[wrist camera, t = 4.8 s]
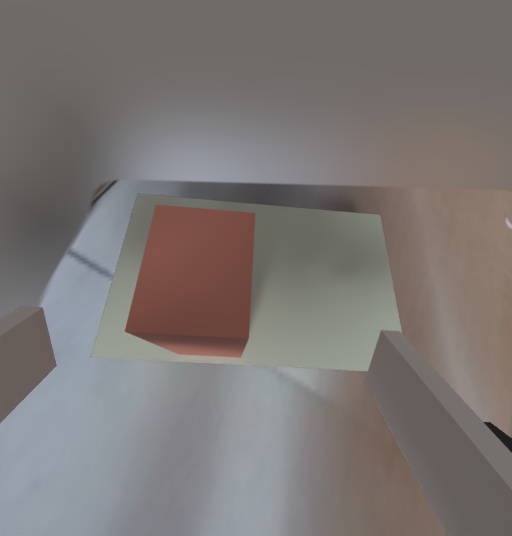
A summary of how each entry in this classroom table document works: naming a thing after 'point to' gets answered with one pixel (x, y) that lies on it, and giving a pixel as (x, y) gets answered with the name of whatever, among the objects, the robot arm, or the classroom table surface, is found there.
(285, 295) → the lid
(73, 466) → the classroom table surface
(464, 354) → the classroom table surface
